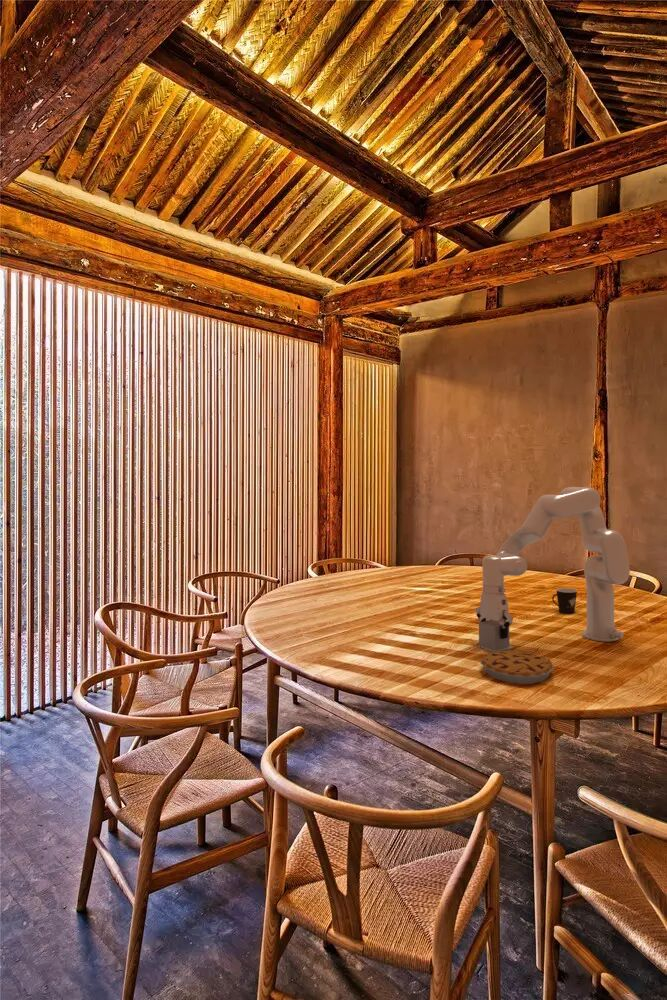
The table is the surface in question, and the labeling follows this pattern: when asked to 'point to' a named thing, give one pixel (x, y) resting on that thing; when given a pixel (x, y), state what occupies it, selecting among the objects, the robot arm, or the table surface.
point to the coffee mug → (566, 600)
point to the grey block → (492, 635)
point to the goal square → (496, 650)
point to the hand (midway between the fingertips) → (493, 635)
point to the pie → (517, 666)
